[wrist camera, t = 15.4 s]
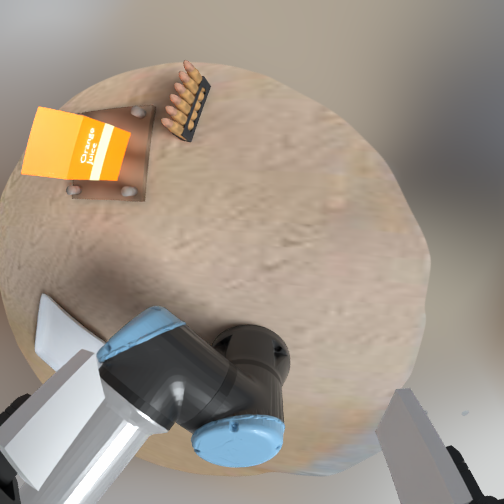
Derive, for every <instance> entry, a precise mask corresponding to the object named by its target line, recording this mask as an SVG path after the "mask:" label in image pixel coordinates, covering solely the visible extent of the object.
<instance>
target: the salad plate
mask: <svg viewBox="0 0 504 504" xmlns="http://www.w3.org/2000/svg"><path fill="white" fill-rule="evenodd" d="M105 344H106V342H104V341H103V340H102V339H100V338H99V337H97V336H96V335H94V334H93V333H92V332H90V331H89V330H88V329H86V328H85V327H84V326H83V325H81V324H80V323H79V322H78V321H76V320H75V319H74V318H73V317H72V316H70V315H69V314H68V313H67V312H66V311H65V310H64V309H63V308H61V307H60V306H59V305H58V304H57V303H56V302H55V301H54V300H53V299H52V298H51V297H50V296H48V295H46V294H44V293H43V294H42V295H41V299H40V305H39V312H38V320H37V330H36V339H35V352H36V354H37V355H38V356H39V357H40V358H41V359H42V360H44V361H45V362H46V363H47V364H48V365H49V366H50V367H51V368H53V369H54V370H55V371H56V372H57V371H58V370H59V369H60V368H61V367H62V366H63V365H64V364H65V363H67V362H68V361H69V360H70V359H71V358H72V357H73V356H74V355H75V354H76V353H77V352H79V351H80V350H81V349H84V350H87V351H90V352H93V353H95V356H96V354H97V352H98V351H99V349H100V348H101V347H102V346H104V345H105ZM96 361H97V366H98V369H99V368H100V367H101V365H102V363H101V364H100V363H99V362H98V359H97V357H96Z"/></svg>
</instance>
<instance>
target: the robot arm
mask: <svg viewBox="0 0 504 504" xmlns="http://www.w3.org/2000/svg"><path fill="white" fill-rule="evenodd" d="M96 357H97V359H98V362H99V363H100V364H101V363H102V365H101V367H100V368H99V369H98V366H97V361H96ZM289 370H290V355H289V351H288V348H287V346H286V344H285V342H284V341H283V340H282V339H281V338H280V337H279V336H278V335H277V334H276V333H274V332H272V331H271V330H269V329H266V328H263V327H260V326H255V325H241V326H236V327H233V328H230V329H228V330H226V331H224V332H223V333H222V334H220V335H219V336H218V337H217V338H216V340H215V341H214V343H213V345H212V347H211V346H210V345H209V344H208V343H206V342H205V341H204V340H203V339H202V338H200V337H199V336H198V335H197V334H196V333H195V332H194V331H192V330H191V329H190V328H189V327H188V326H187V325H186V323H185V322H184V321H181V320H180V319H178V318H177V317H176V316H174V315H173V314H172V313H171V312H169V311H168V310H167V309H166V308H164V307H162V306H152V307H149V308H148V309H146V310H144V311H143V312H141V313H140V314H139V315H137V316H136V317H135V318H133V319H132V320H131V321H130V322H128V323H127V324H126V325H125V326H124V327H122V328H121V329H120V330H119V331H118V332H117V333H116V334H114V335H113V336H112V337H111V338H110V339H109V341H108V342H107V343H106V344H105V345H104V346H102V347H101V348H100V349H99V351H98V352H97V354H96V356H95V353H93V352H90V351H87V350H84V349H81V350H80V351H79V352H77V353H76V354H75V355H74V356H73V357H72V358H71V359H70V360H69V361H68V362H67V363H65V364H64V365H63V366H62V367H61V368H60V369H59V370H58V371H57V372H56V373H55V374H54V375H53V376H51V377H50V378H49V379H48V380H47V381H46V382H45V383H44V384H43V385H42V386H41V387H40V388H39V389H38V390H37V391H36V392H35V393H34V394H33V395H32V396H31V395H29V394H25V395H23V396H20V397H18V398H17V399H16V400H15V401H14V402H13V403H12V404H11V405H10V406H9V407H7V408H6V409H5V412H2V413H1V414H0V504H96V503H97V501H98V500H99V499H100V498H101V497H102V495H103V494H104V493H105V492H106V490H107V489H108V488H109V487H110V485H111V484H112V483H113V482H114V480H115V479H116V478H117V477H118V475H119V474H120V473H121V472H122V470H123V469H124V468H125V467H126V465H127V464H128V463H129V462H130V460H131V459H132V458H133V456H134V455H135V454H136V453H137V451H138V450H139V449H140V447H141V446H142V445H143V444H144V442H145V441H146V440H147V438H148V437H149V436H150V435H152V434H159V433H167V432H168V431H169V430H170V428H171V427H172V426H173V424H174V423H175V422H176V423H177V424H179V425H180V426H182V427H183V428H185V429H186V430H188V431H189V432H191V433H192V434H193V435H192V437H191V442H192V447H193V448H194V451H195V452H196V454H197V455H198V456H200V457H201V458H202V459H204V460H206V461H208V462H210V463H213V464H216V465H220V466H225V467H249V466H254V465H258V464H261V463H264V462H266V461H268V460H270V459H271V458H273V457H274V456H275V455H276V454H277V453H278V452H279V450H280V449H281V447H282V443H283V433H284V429H285V425H284V416H283V400H282V386H283V384H284V382H285V380H286V378H287V376H288V373H289ZM375 432H376V434H377V437H378V440H379V442H380V445H381V448H382V451H383V453H384V456H385V459H386V461H387V464H388V467H389V470H390V473H391V476H392V479H393V482H394V485H395V488H396V491H397V494H398V497H399V500H400V503H401V504H504V499H500V500H497V499H496V498H495V497H493V496H484V495H483V494H482V492H481V490H480V488H479V486H478V484H477V482H476V480H475V479H474V477H473V475H472V473H471V471H470V470H468V466H467V464H466V463H464V459H463V457H462V455H461V454H460V452H459V451H458V450H456V449H455V448H454V447H453V446H447V447H445V445H444V444H443V442H442V440H441V438H440V437H439V435H438V433H437V432H436V430H435V428H434V426H433V425H432V423H431V421H430V420H429V418H428V416H427V414H426V413H425V411H424V410H423V408H422V406H421V405H420V403H419V401H418V400H417V398H416V397H415V395H414V393H413V392H412V390H411V389H410V388H405V389H396V390H395V393H394V395H393V397H392V399H391V401H390V403H389V405H388V408H387V410H386V412H385V414H384V416H383V418H382V419H381V421H380V423H379V425H378V427H377V429H376V431H375ZM17 473H18V475H19V476H20V477H21V478H22V479H23V480H24V481H25V483H24V484H23V485H22V487H21V488H20V489H18V482H17V479H16V477H15V476H16V475H17Z"/></svg>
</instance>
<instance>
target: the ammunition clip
mask: <svg viewBox="0 0 504 504" xmlns="http://www.w3.org/2000/svg"><path fill="white" fill-rule="evenodd" d="M183 64H184V68H185V70H186V71H187V74H188V75H187V74H186V73H185V72H183V71H180V72H179V77H180V79H181V81H182V82H183V85H184V86H183V85H182V84H180V83H174V87H175V89H176V91H177V92H178V94H179V95H180V97H181V98H182V99H181V98H180V97H179V96H177V95H175V94H170V99H171V101H172V102H173V103H174V105H175V106H176V108H177V109H178V110H177V109H175V108H174V107H172V106H166V107H165V109H166V111H167V113H168V114H169V115H170V116H171V117H172V119H173V120H175V121H173V120H171V119H168V118H162V119H161V122H162V124H163V125H164V126H165V127H167V128H168V130H169V131H171V132H172V133H173V134H174V135H175V136H176V137H178V138H179V139H180V140H183V141H187V142H191V141H192V138H193V135H194V132H195V129H196V126H197V123H198V120H199V117H200V115H201V112H202V109H203V106H204V103H205V101H206V98H207V95H208V93H209V90H210V87H211V86H210V84H209V83H208V81H207V80H206V79H205V77H204V76H201V75H200V73H199V71H198V70H197V69H196V68H195V67H194V66H193V65H192V64H191V63H190V62H189V61H186V60H185V61H184V62H183ZM202 77H203V78H202Z"/></svg>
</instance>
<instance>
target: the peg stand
mask: <svg viewBox="0 0 504 504" xmlns="http://www.w3.org/2000/svg"><path fill="white" fill-rule="evenodd" d="M155 109H156V107H155V106H153V105H144V106H132V107H122V108H113V109H105V110H98V111H91V112H85V113H82V114H80V113H78V114H77V115H83V116H86V117H89V118H91V119H94V120H97V121H100V122H103V123H106V124H109V125H112V126H114V127H116V128H119V129H122V130H124V131H127V132H129V133H131V134H130V137H129V140H128V144H127V147H126V150H125V154H124V157H123V160H122V164H121V168H120V171H119V175H118V179H117V181H114V180H82V179H73V186H68V187H67V189H66V192H67V194H68V195H71V194H72V199H99V200H121V201H139V202H143V201H145V193H146V181H147V170H148V160H149V151H150V143H151V135H152V128H153V121H154V115H155Z"/></svg>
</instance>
